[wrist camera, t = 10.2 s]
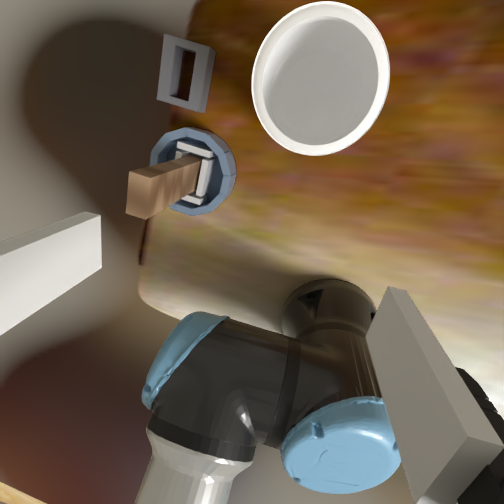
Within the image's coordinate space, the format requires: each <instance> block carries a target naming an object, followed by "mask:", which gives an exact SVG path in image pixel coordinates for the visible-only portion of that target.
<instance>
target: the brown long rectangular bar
mask: <svg viewBox="0 0 504 504" xmlns="http://www.w3.org/2000/svg"><path fill="white" fill-rule="evenodd" d="M203 159H205V158H202V157H199V156H196V155H189V156H186V157H182V158H178V159H174V160H171V161H167V162H163V163H159V164H155V165H152V166H148V167H144V168H140V169H137V170H133V171H129V182H128V193H127V206H126V213H127V214H130V215H133V216H136V217H139V218H142V219H145V220H146V219H148V218H150V217H151V216H153V215H155V214H156V213H158V212H160V211H161V210H163V209H165V208H166V207H168V206H170V205H171V204H173V203H175V202H176V201H178V200H180V199H181V198H183V197H185V196H186V195H188V194H190V193H192V192H193V191H195V190H197V186H198V181H199V175H200V170H201V165H202V160H203Z"/></svg>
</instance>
